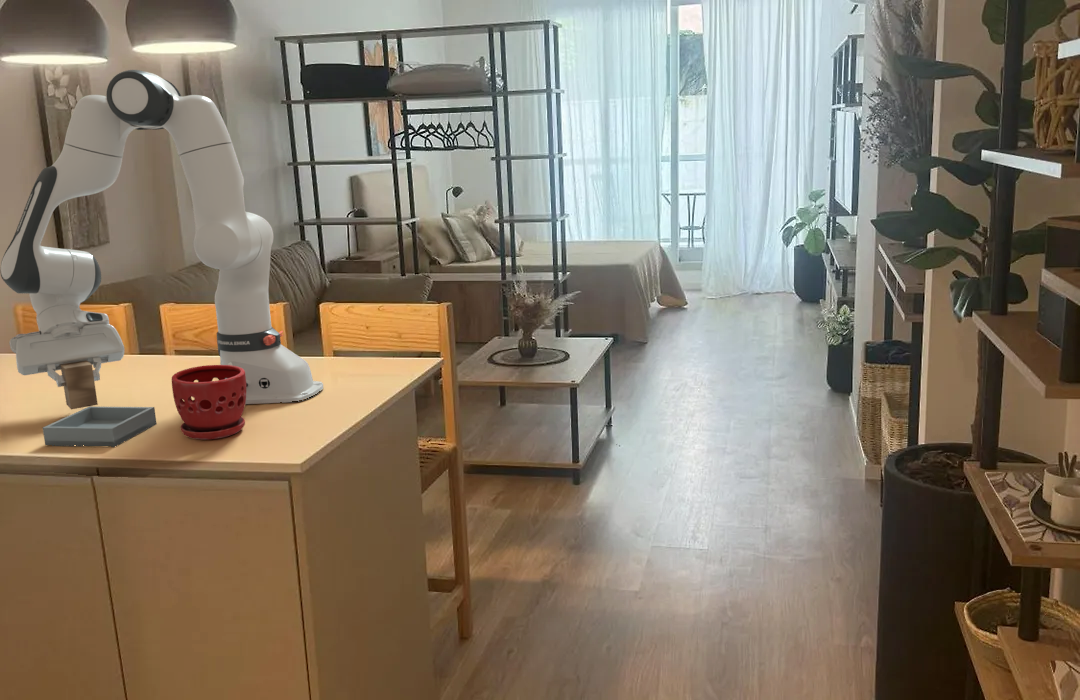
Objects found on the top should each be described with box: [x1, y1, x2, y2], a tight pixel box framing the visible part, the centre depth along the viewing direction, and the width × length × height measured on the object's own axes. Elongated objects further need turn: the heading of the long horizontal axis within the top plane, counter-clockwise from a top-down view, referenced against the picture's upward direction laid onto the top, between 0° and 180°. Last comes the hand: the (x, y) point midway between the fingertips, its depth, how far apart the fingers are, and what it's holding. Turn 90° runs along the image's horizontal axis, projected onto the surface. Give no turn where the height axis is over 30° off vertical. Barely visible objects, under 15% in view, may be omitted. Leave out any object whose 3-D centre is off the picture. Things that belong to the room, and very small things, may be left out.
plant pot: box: [171, 364, 246, 441], centre depth 177 cm, size 13×13×12 cm
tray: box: [42, 405, 157, 448], centre depth 179 cm, size 14×14×4 cm
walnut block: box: [60, 361, 99, 410], centre depth 193 cm, size 5×5×8 cm
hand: (79, 382), depth 192 cm, fingers closed on walnut block, 5 cm apart
